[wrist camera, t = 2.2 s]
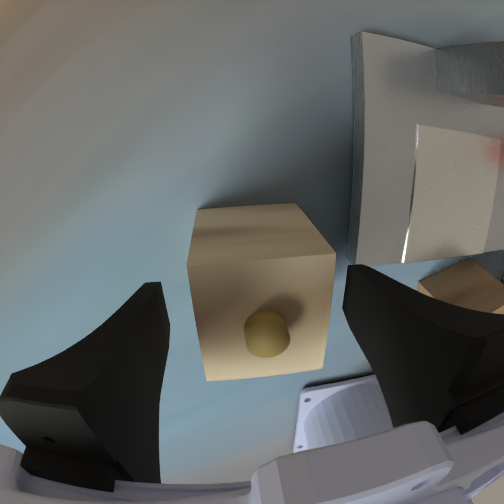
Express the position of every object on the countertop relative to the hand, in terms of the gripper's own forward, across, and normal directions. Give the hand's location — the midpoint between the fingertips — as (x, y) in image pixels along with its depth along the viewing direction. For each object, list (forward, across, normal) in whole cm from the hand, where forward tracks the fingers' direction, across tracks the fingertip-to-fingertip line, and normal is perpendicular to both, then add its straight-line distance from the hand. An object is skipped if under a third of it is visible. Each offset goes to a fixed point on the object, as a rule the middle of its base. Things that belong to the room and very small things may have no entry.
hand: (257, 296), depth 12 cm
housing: (+4, 0, 0) cm, 4 cm away
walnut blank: (+4, -13, +5) cm, 14 cm away
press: (+4, -11, -5) cm, 13 cm away
